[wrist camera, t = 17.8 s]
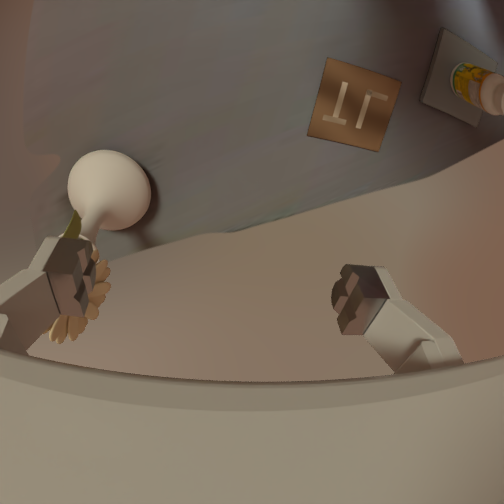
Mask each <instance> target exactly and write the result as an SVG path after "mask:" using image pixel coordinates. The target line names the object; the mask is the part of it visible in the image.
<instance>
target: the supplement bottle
mask: <svg viewBox="0 0 504 504" xmlns="http://www.w3.org/2000/svg"><path fill="white" fill-rule="evenodd" d="M450 82H451V87H452V90H453V92H454V93H455V94H456V96H458V97H459V98H461V99H463V100H465V101H467V102H469V103H471V104H473V105H474V106H476V107H478V108H480V109H482V110H484V111H486V112H488V113H489V114H492V115H500V114H501V115H503V116H504V77H503V76H501V75H499V74H497V73H494V72H492V71H489V70H486V69H484V68H481V67H478V66H475V65H472V64H470V63H459V64H458V65H457V66H456V67H455V68H454V69H453V71H452V73H451V77H450Z"/></svg>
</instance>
